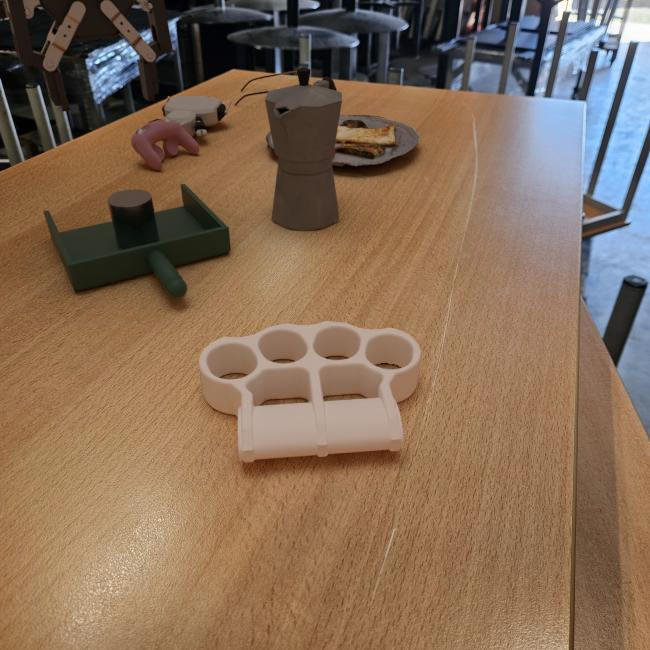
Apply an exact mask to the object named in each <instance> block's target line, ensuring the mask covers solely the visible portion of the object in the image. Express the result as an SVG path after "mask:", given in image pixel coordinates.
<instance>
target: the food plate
mask: <svg viewBox="0 0 650 650" xmlns="http://www.w3.org/2000/svg"><path fill="white" fill-rule="evenodd" d="M421 137H422V136H421V135H419V132H418V131H417V130H416V129H414V128H413V127H412V126H411V125H408V124H406V123H404V122H400V121H396V120H391V119H389V118H386V117H385V118H384V116H378V115H370V114H369V115H367V114H340V117H339V123H338V129H337V136H336V142H335V148H334V155H333V156H332V166H335V167H343V166H345V165H348V166H352V167H358V166H359V167H360V166H369V165H379V164H383V163H385V162H389V161H391V159H393V158H397V157H400V156H403V155H406V154H407V153H409V152H410V151H412V150H414V148H415V147H416V146H418V143H419V142H420V140H421ZM265 140H266V144H267V147H268V148H269V149H270V150H272V153H274V146H273V141H272V135H271V130H269V132H268V133H267V134H266V136H265Z"/></svg>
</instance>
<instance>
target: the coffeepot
mask: <svg viewBox="0 0 650 650" xmlns="http://www.w3.org/2000/svg"><path fill="white" fill-rule="evenodd" d="M296 70H297V72H296V74H297V80H298V84H295V85H290V86H285V87H282V88H281V87H280V88H277V89H272V91H271V90H267V91H268V92H267V93H266V95H265V98H264V103H265V108H266V109H265V110H266V113H267V119H268V124H269V129H270V130H269V131H271V135H272V141H273V146H274V149H273V152H274V155H275V156H277V169H276V177H275V186H274V194H273V202H272V203H273V204H272V211H271V220H272V221H273V222H275V223H276V224H277V225H279V226H280V227H282V228H285V229H289V230H293V231H302V232H303V231H305V232H306V231H316V230H321V229H325V228H328V227H330V226H332V225H334V224H335V223H336V222H337V221H339V219H340V217H339V216H340V215H339V203H338V196H337V195H338V194H337V189H336V182H335V175H334V168H333V165H332V156H333V155H334V148H335V142H336V136H337V129H338V123H339V117H340V115H341V109H342V104H343V92H342V91H338V90H337V86H336V85H335V82H334V79H333V78H332V77H330V76H325V77H323V78H322V79H321V80H320V79H318V80H316V81H314V82H313V84H309V83H310V77H311V72H312V71H311V68H308V67H305V66H303V67H300V68H297V69H296Z"/></svg>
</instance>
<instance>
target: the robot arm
mask: <svg viewBox="0 0 650 650" xmlns="http://www.w3.org/2000/svg"><path fill="white" fill-rule="evenodd" d="M135 1H136V2H137V3H138V5H139V7H140V9H141V10H142V11H144V12H146V13H147V18H148V23H149V27H150V33H151V39H152V40H151V41H149V42H146V41H145V40H144V38H143V37H142V36H141V34H140V33H139V32H138V31H137V30H136V28H135V27H134V26H133V25H132V23H130V21H129V20H127V19H128V16H129V15H130V13H131V10H132V8H133V6H134V4H135ZM4 2H5V6H6V11H7V16H8V21H9V25H10V29H11V30H10V31H11V35H12V40H13V44H14V48H15V49H14V50H15V53H16V57H17V58H18V60H19V62H20V63H21V64H22V65H23V66H25V67H33V68H37V69H40V70H41V71H42V73H43V78H44V81H45V85H46V89H47V93H48V96H49V99H50V101H51V102H52V103H53V105H54V106H55V107H58V108H59V109H60V111H61V112H70V111H71V108H70V104H69V99H68V94H67V91H66V86H65V83H64V77H63V73H62V71H61V70H60V69H59V68H58V66H59V64H60V61H61V59H62V58H63V56H64V53H65V52H66V51H67V50H68V48H69V46H70V44H71V42H72V39H74V40H76V41H79V42H81V43H83V42H84V43H85V42H91V41H93V40H96V39H99V40H104V41H108V40H109V41H110V40H112V41H113V40H115V38H116V37H118V36H120V37H121V38H122V40H124V41H125V42H126V43H127V44H128V45H129V46H130V48H131V49H132V50H133V51H134V52H135V53H136V54H137V55H138V57H139V58H138V59H136V61H137V68H138V74H139V81H140V87H141V92H142V96H143V98H144V99H145V100H146V101H147V102H150V101H155V100H156V95H159V93H160V92H159V91H160V83H159V77H158V69H157V60H158V58H160V57H162V56H163V55H168V54H171V53H172V51H173V44H172V38H171V33H170V27H169V21H168V15H167V11H166V10H167V9H166V5H165V0H4ZM37 6H40V8H42V9H43V10H44V11H45V12H46V14H47V15H48V16H50V18H51V19H52V20H53V23H52V25H51V27H50V29H49V31H48V34H47V37H46V41H45V43H44V45H43V47H42V50H41V51H37V50H34V49H33V45H32V39H31V35H30V29H29V24H28V20H31V19H32V18H33V17H35V16H34V15H35V8H36V7H37Z"/></svg>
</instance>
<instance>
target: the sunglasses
mask: <svg viewBox="0 0 650 650" xmlns="http://www.w3.org/2000/svg"><path fill="white" fill-rule="evenodd" d="M293 73H297V69H296V70H292V71H291V70H289V71H285V72H279V73H274V74H269V75H264V76H263V75H262V76H259V77H255V78H252V79H249V80H248V81H247V82H246V83H245V84H244V86H243V87H242V88H241V89H240V92H243V91H244V89H245V88H246V87H247V86H248V85H249V84H250V83H251V82H253V81H257V80H262V79H265V78H272V77H277V76H282V75H283V76H284V75H288V74H293ZM272 90H273V89H272ZM272 90H270V91H272ZM268 91H269V90H265V91H264V90H263V91H257V92H252V93H248V94H245V95H242V96H241V97H240V98H239V99H238V100H237V101H236V103H234V106H235V107H237V105H238V104H239V103H240V102H241V101H242V100H243V99H245V98H247V97H249V96H255V95H256V96H257V95H263V94H267V92H268Z"/></svg>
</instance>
